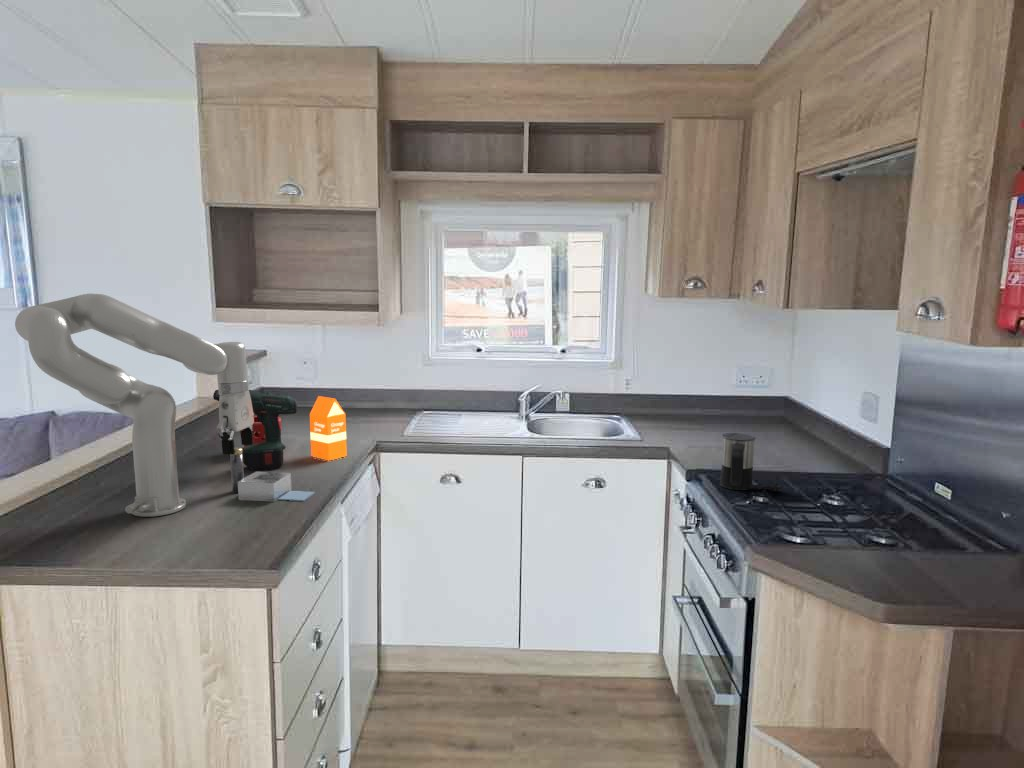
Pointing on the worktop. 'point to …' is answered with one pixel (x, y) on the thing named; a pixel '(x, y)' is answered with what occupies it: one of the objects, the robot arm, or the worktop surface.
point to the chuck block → (264, 486)
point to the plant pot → (259, 428)
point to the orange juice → (328, 429)
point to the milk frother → (740, 463)
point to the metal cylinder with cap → (236, 468)
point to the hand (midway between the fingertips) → (238, 449)
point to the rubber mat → (296, 495)
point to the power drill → (267, 429)
